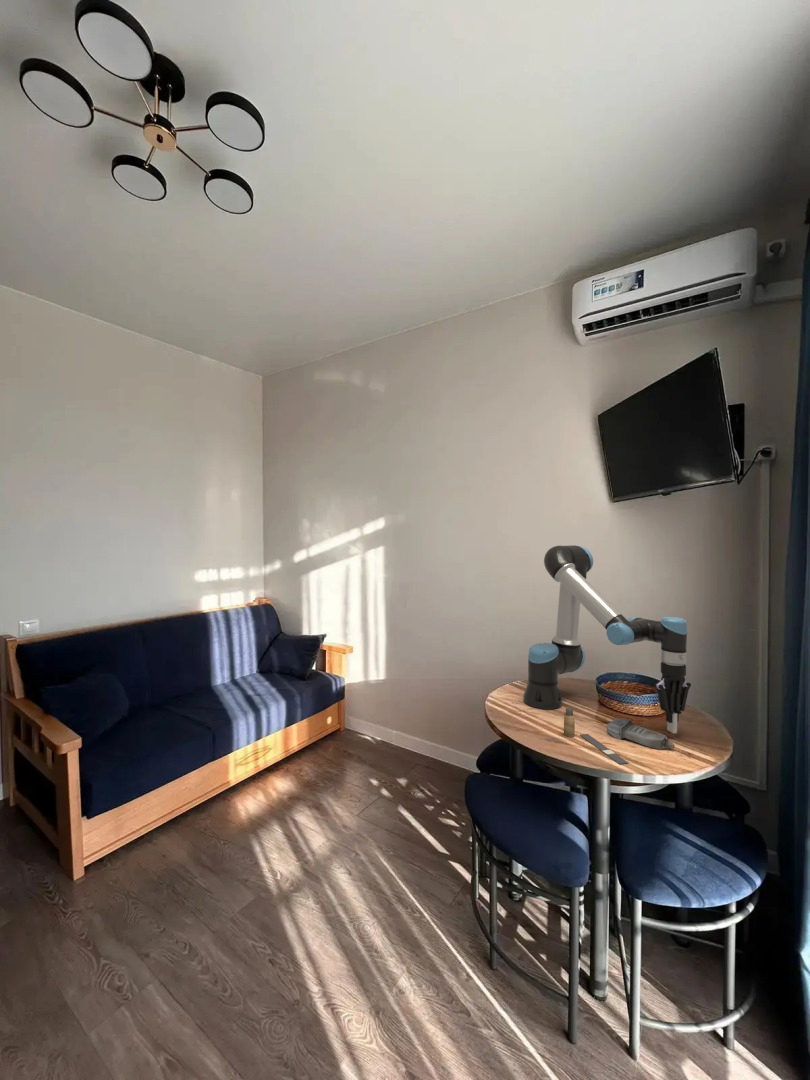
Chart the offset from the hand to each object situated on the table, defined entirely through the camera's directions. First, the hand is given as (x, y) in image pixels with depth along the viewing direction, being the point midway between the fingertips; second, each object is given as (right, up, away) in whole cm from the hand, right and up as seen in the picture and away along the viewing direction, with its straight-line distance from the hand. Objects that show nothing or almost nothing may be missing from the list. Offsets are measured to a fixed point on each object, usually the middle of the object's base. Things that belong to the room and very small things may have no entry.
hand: (672, 731), depth 153 cm
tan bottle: (-35, -1, 0) cm, 35 cm away
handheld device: (-12, -2, -3) cm, 13 cm away
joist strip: (-28, -2, -9) cm, 30 cm away
